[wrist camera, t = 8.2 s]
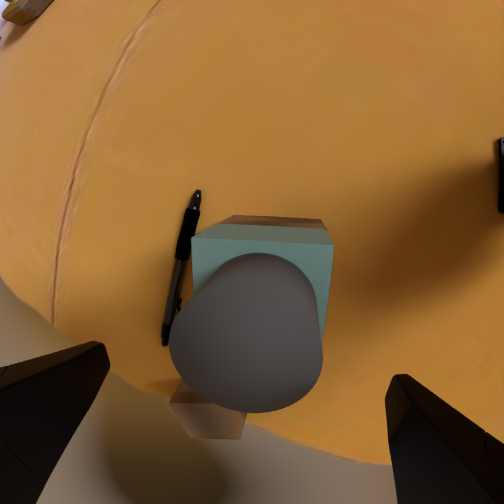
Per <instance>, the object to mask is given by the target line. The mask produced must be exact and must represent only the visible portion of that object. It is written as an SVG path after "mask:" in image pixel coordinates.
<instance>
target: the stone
mask: <svg viewBox="0 0 504 504" xmlns="http://www.w3.org/2000/svg"><path fill="white" fill-rule="evenodd" d="M169 349H170V354H171V358H172V360H173V363H174V365H175V367H176V369H177V371H178V373H179V374H180V376H181V377H182V379H183V380H184V381H185V382H186V383H187V384H188V385H189V386H190V387H191V388H192V389H193V390H194V391H195V392H196V393H198V394H199V395H200V396H202V397H203V398H205V399H207V400H208V401H210V402H212V403H214V404H216V405H218V406H221V407H224V408H227V409H230V410H234V411H239V412H247V413H263V412H271V411H275V410H279V409H282V408H285V407H287V406H290V405H292V404H294V403H295V402H297V401H299V400H300V399H301V398H303V397H304V396H305V395H306V394H307V393H308V392H309V391H310V390H311V389H312V388H313V386H314V385H315V383H316V382H317V380H318V378H319V375H320V372H321V369H322V362H323V354H322V343H321V334H320V326H319V317H318V309H317V301H316V296H315V292H314V289H313V287H312V284H311V283H310V281H309V279H308V278H307V276H306V275H305V274H304V273H303V272H302V271H301V270H300V269H299V268H298V267H297V266H296V265H294V264H293V263H292V262H290V261H288V260H286V259H284V258H282V257H279V256H277V255H273V254H268V253H247V254H243V255H239V256H237V257H234V258H232V259H230V260H228V261H227V262H225V263H224V264H223V265H221V266H220V267H219V268H218V269H217V270H216V272H215V273H214V274H213V275H212V276H211V277H210V278H209V279H208V280H207V281H206V283H205V284H204V285H203V286H202V287H201V288H200V289H199V290H198V291H197V293H196V294H195V295H194V296H193V297H192V298H191V299H190V300H189V301H188V303H187V304H186V305H185V306H184V307H183V308H182V309H181V310H180V311H179V313H178V314H177V316H176V317H175V319H174V321H173V324H172V326H171V330H170V334H169Z"/></svg>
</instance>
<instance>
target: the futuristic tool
mask: <svg viewBox="0 0 504 504" xmlns="http://www.w3.org/2000/svg"><path fill="white" fill-rule="evenodd" d="M5 1H7V2H10V4H9V5H8V6H7V7H6V9H5V10H4V11H3V12H2V17H3V18H4V19H5V20H6V21H9V22H12V23H15V24H18V25H23V24H24V23H26V22H28V21H30V20H31V19H33V18H35V17H37V16H39V15H41V13H42V12H43V11H44V10H45V9H46V8H47V7H48V6H49V5H50V4H51V3H52V1H53V0H5Z"/></svg>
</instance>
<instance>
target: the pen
mask: <svg viewBox="0 0 504 504" xmlns="http://www.w3.org/2000/svg"><path fill="white" fill-rule="evenodd" d="M200 204H201V190H196V191H195V193H194V194H193V196H192V198H191V201H190V203H189V206H188V208H187V209H186V211H185V215H184V220H183V224H182V227H181V231H180V235H179V239H178V242H177V248H176V254H175V258H176V259H175V264H174V268H173V273H172V278H171V283H170V288H169V293H168V298H167V304H166V309H165V315H164V320H163V324H162V330H161V338H162V346H164V347H166V346H167V345H168V342H169V334H170V330H171V326H172V324H173V321H174V318H175V313H176V309H178V313H179V311H180V310H181V309H180V304H181V302H182V298H180V299H179V294H180V290H181V285H182V280H183V276H184V272H185V267H186V263H187V260H188V259H189V255H190V252H191V249H192V245H191V238H192V237H193V236H195V231H196V227H197V222H198V219H199V216H200ZM178 299H179V301H178ZM177 304H178V306H177Z"/></svg>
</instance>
